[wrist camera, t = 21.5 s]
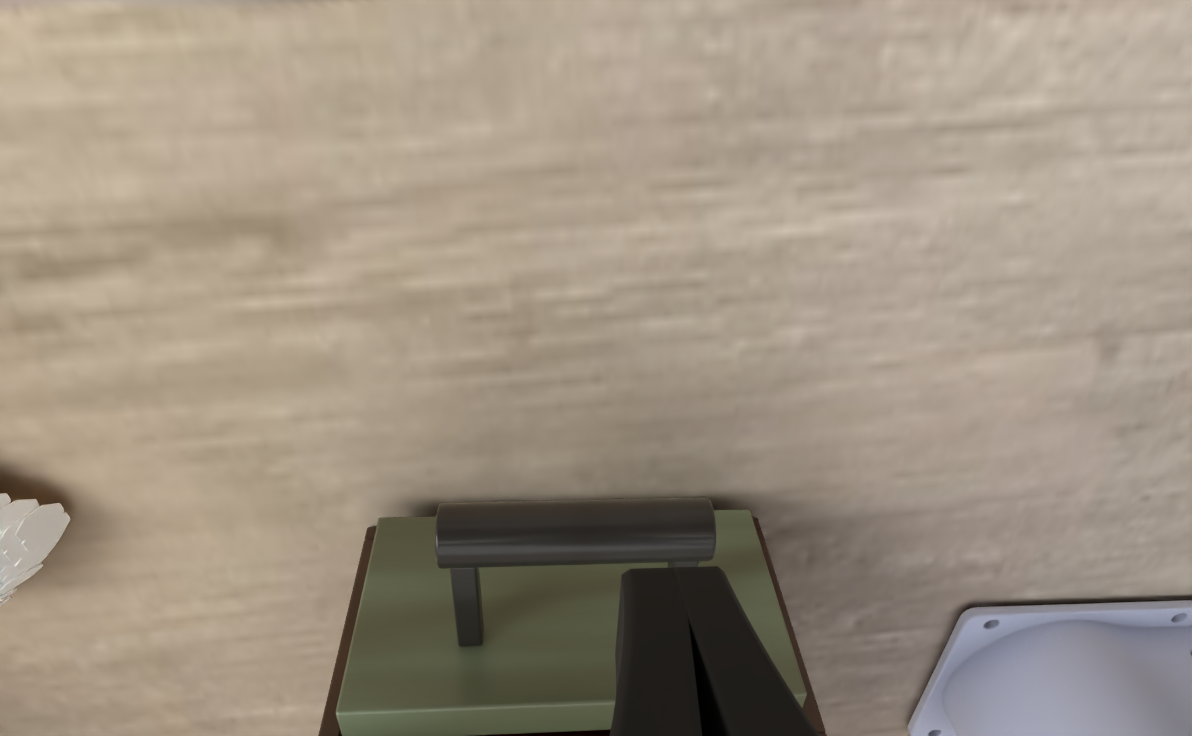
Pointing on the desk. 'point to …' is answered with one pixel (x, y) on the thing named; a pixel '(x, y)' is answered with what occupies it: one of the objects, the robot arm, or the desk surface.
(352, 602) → the cabinet
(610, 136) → the desk surface
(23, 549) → the pincushion
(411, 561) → the drawer
